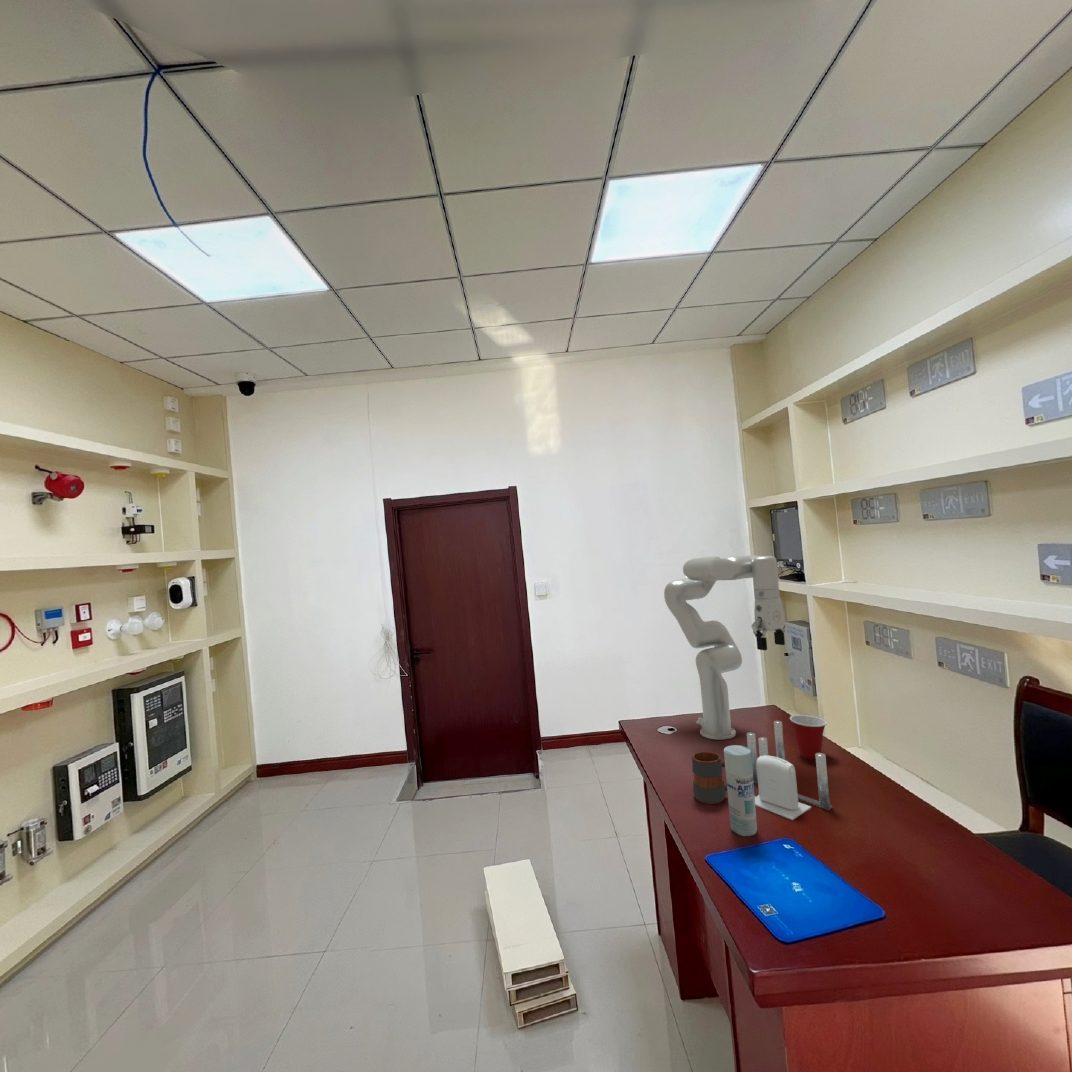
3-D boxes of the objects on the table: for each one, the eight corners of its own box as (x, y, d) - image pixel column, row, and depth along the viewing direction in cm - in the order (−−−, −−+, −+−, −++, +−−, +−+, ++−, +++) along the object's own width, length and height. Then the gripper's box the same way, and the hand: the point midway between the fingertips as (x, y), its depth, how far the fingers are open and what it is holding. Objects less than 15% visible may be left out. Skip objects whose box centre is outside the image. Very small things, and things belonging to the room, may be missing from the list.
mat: (747, 802, 151) (747, 801, 151) (766, 791, 156) (766, 790, 156) (792, 820, 140) (792, 818, 140) (811, 808, 145) (811, 806, 145)
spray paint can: (744, 820, 142) (738, 743, 142) (763, 832, 136) (756, 751, 136) (724, 827, 139) (718, 748, 140) (742, 839, 133) (735, 757, 134)
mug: (741, 804, 150) (737, 762, 150) (696, 805, 151) (692, 763, 152) (734, 790, 158) (730, 750, 159) (691, 791, 160) (688, 751, 160)
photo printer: (756, 799, 151) (752, 755, 151) (765, 794, 154) (761, 750, 154) (793, 812, 143) (789, 765, 143) (801, 806, 146) (797, 760, 146)
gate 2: (759, 786, 160) (755, 738, 160) (764, 783, 161) (760, 736, 161) (828, 810, 143) (823, 757, 144) (832, 807, 145) (828, 754, 145)
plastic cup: (837, 760, 172) (834, 722, 173) (804, 764, 172) (800, 726, 172) (817, 747, 183) (814, 712, 183) (786, 751, 183) (783, 715, 183)
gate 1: (747, 780, 164) (743, 733, 164) (779, 763, 174) (776, 719, 174) (756, 783, 162) (752, 736, 162) (788, 766, 171) (784, 721, 171)
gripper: (761, 598, 169) (766, 653, 169) (792, 591, 179) (797, 643, 179) (740, 597, 175) (744, 650, 175) (771, 590, 185) (775, 641, 185)
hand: (771, 647), depth 177 cm, fingers open, 9 cm apart
